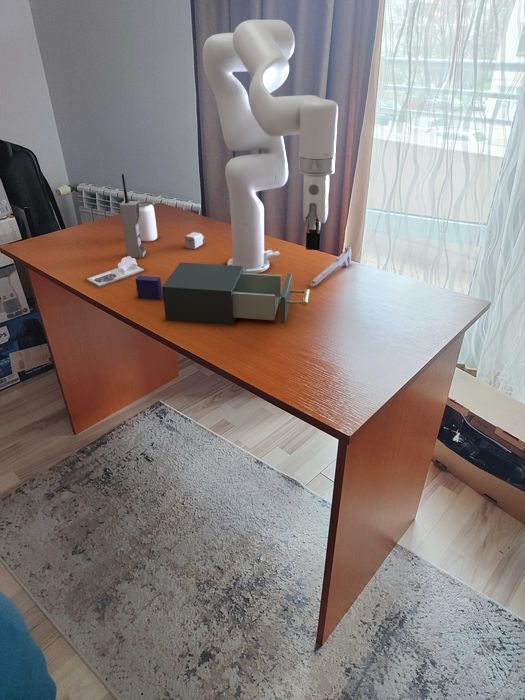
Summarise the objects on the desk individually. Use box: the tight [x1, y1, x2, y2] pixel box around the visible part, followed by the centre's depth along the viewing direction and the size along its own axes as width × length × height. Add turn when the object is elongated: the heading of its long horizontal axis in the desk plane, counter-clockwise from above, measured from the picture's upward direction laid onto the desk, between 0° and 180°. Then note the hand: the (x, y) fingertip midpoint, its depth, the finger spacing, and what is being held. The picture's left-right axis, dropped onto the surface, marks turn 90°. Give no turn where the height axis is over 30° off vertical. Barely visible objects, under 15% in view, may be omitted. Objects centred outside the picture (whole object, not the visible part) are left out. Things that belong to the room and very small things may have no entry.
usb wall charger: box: [184, 231, 206, 250], centre depth 164 cm, size 4×7×4 cm, turn 150°
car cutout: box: [86, 255, 145, 288], centre depth 144 cm, size 15×7×4 cm, turn 137°
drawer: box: [232, 272, 311, 325], centre depth 123 cm, size 20×14×7 cm, turn 81°
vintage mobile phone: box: [118, 173, 147, 259], centre depth 151 cm, size 4×5×25 cm
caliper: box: [309, 245, 353, 288], centre depth 142 cm, size 20×1×6 cm, turn 141°
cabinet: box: [161, 262, 244, 326], centre depth 125 cm, size 17×15×9 cm
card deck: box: [134, 275, 163, 300], centre depth 132 cm, size 6×2×5 cm, turn 81°
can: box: [138, 200, 158, 243], centre depth 167 cm, size 6×6×12 cm
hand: (313, 248), depth 114 cm, fingers closed
